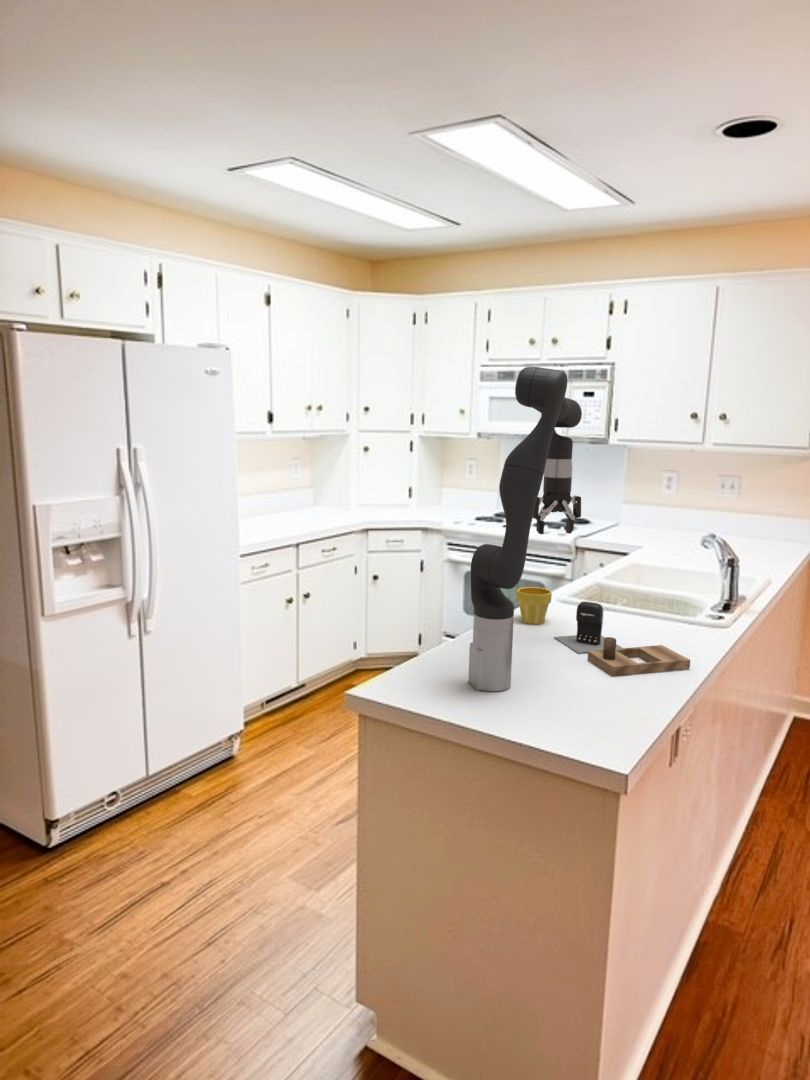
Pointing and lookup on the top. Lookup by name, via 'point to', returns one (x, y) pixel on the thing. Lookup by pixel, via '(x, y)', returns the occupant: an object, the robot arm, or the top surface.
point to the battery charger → (589, 622)
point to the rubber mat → (581, 644)
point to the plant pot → (533, 604)
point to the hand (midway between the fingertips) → (554, 533)
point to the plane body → (621, 664)
